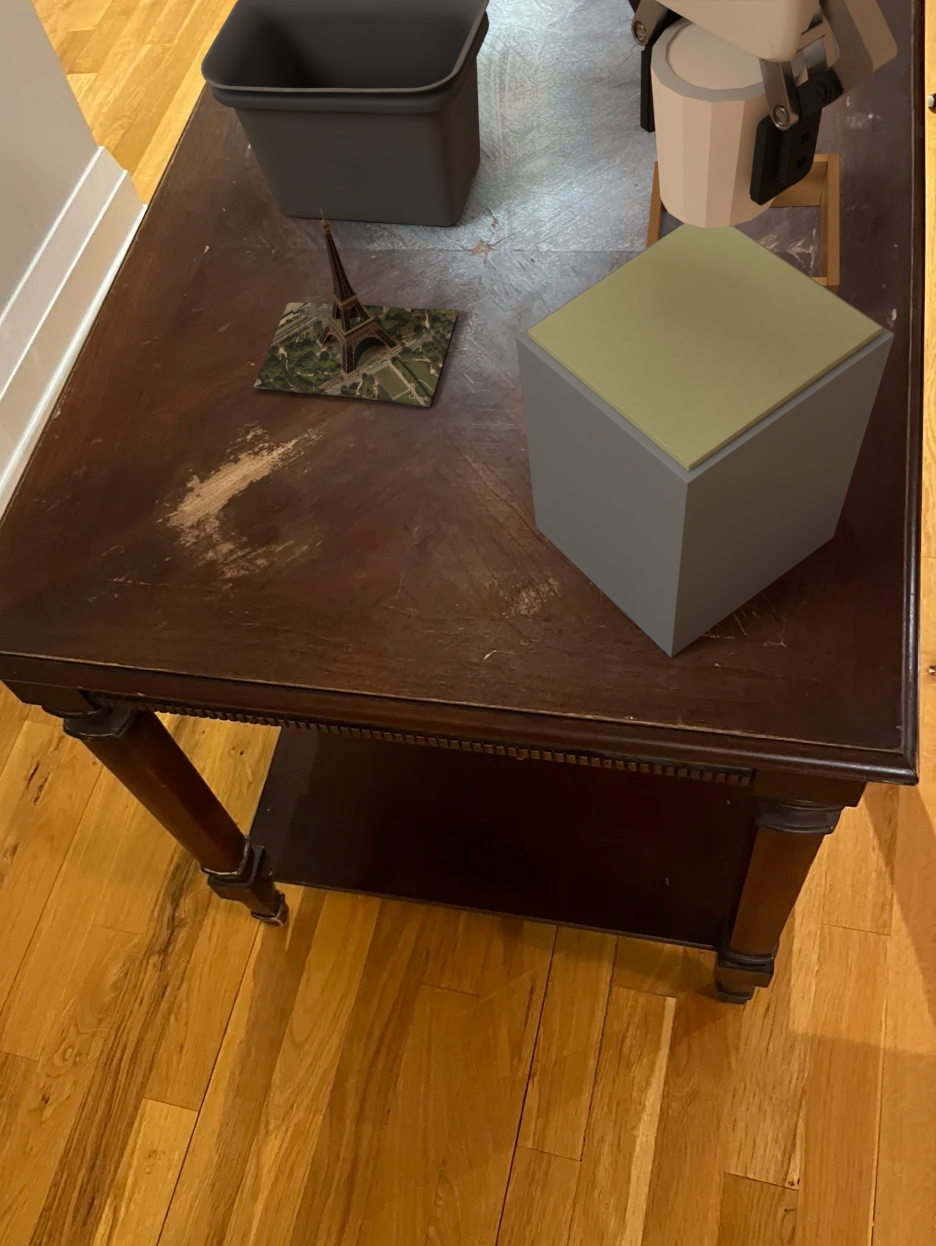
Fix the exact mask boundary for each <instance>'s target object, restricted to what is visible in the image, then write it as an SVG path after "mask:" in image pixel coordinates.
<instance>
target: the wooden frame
mask: <svg viewBox="0 0 936 1246" xmlns="http://www.w3.org/2000/svg"><path fill="white" fill-rule="evenodd" d="M816 206H817V207H819V210H818V211H819V214H818V215H819V216H818V217H819V218H818V219H819V222H818V223H819V224H818V225H819V226H818V228H819V229H818V233H819V234H818V235H819V236H818V276H813V277H812V276H809V277H810V278H812V279H813V280H815V281H816V282H818V283H819V284H821V285H822V286H824V287H825V288H827V289H828V290H830V291H831V292H833V293H834V294H836V295H837V296H838V294H839V289H840V283H841V282H840V281H841V280H840V279H841V278H840V275H841V274H840V273H841V272H840V271H841V269H840V267H841V266H840V265H841V264H840V261H841V257H840V254H841V253H840V252H841V251H840V250H841V249H840V247H841V246H840V243H841V241H840V239H841V237H840V223H841V222H840V220H841V219H840V218H841V217H840V216H841V215H840V211H841V210H840V153H839V152H838V153H837V152H836V153H835V152H834V153H815V155H814V161H813V165H812V168H811V170H810V172H809V173H808V174H807V175H806V176H805V177H804V178H803V179H802V180H801V181H799V182H798V183H796V184H795V185H793V186H791V187H789V188H788V189H786V190H785V191H783V192H782V193H780V194H779V195H777V196H776V197H775V199H774V200H773V202H772V203H771V205H770V207H769V208H787V207H816ZM664 211H665V212H666V211H667V209H666V207H665V206H664V204H663V202H662V200H661V197H660V184H659V170H658V160H656V161H654V166H653V176H652V185H651V196H650V207H649V217H648V225H647V226H648V227H647V236H646V246H645V249H647V248H648V247H649V246H651V245H652V244H654V243H655V242H657V241H658V240H660V239H661V233H662V223H663V222H662V221H663V212H664ZM667 212H668V211H667Z"/></svg>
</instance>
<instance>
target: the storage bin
mask: <svg viewBox="0 0 936 1246" xmlns="http://www.w3.org/2000/svg"><path fill="white" fill-rule="evenodd" d="M489 3H490V0H237V1H236V2H235V3H234V5H233V7H232V8H231V10H230V12H229V14H228V16H227V18H226V19H225V20H224V22H223V25H221V28H220V29H219V31H218V33H217V34H216V36H215V37H214V40H213V41H212V43H211V44H210V47H209V48H208V50H207V52H206V54H205V55H204V57H203V59H202V60H201V61H202V62H201V64H200V72H201V75H202V78H203V79H204V80H205V82H206V83H207V84H209V85H210V86H211V92H212V95H213V97H214V99H215V100H216V101H217V103H219V104H220V105H223V106H225V107H227V108H233V110H234V112H235V114H236V116H237V118H238V121H239V123H240V125H241V127H242V130H243V133H244V134H245V137H246V139H247V141H248V143H249V145H250V148H251V150H252V153H253V155H254V157H255V159H256V161H257V164H258V166H259V168H260V171H261V173H262V175H263V177H264V180H265V182H266V185H267V187H268V189H269V191H270V194H271V196H272V198H273V201H274V203H275V206H276V207H277V210H278V212H279V213H280V214H281V215H282V216H285V217H289V218H301V219H302V218H304V219H319V220H320V219H321V220H322V219H323V217H324V219H326V220H338V221H354V222H355V221H356V222H371V223H383V224H384V223H385V224H387V223H388V224H402V225H403V224H405V225H421V226H434V227H435V226H436V227H449V226H452V225H454V224H455V223H456V222H457V221H458V219H459V218H460V215H461V212H462V210H463V208H464V204H465V202H466V200H467V197H468V195H469V192H470V189H471V188H472V184H473V182H474V179H475V177H476V175H477V172H478V170H479V168H480V163H481V158H482V157H481V156H482V155H481V136H480V135H481V133H480V111H479V110H480V109H479V108H480V107H479V81H478V80H479V79H478V56H479V53H480V51H481V48H482V46H483V44H484V42H485V39H486V37H487V34H488V33H489V29H490V19H489V15H488V12H487V8H488V6H489ZM320 208H321V210H322V214H323V217H322V214H321V210H320Z"/></svg>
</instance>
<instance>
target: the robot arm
mask: <svg viewBox="0 0 936 1246" xmlns="http://www.w3.org/2000/svg"><path fill="white" fill-rule="evenodd" d="M627 1H628V3H629V5H630V8H631V9H632V12H633V14H634V15H633V18H632V21H631V23H630V24H631V25H630V30H631V35H632V37H633V40H634V41H635V43H637V45H639V46H640V47H644V49H643V50H641V51H640V94H639V95H640V96H639V97H640V99H639V100H640V101H639V102H640V105H639V126H640V128H641V129H642V130H643V131H646V132H647V133H649V134H651V133H656V130H655V117H654V103H653V90H652V77H651V58H652V49H653V46H654V44H655V43H656V42H657V40H658V39H659V37H660V36H661V35H662V33H663V32H664V31H665V29H666V28H667V27H669V26H670V25H672V24H673V23H675V22H676V21H678V20H679V19H681V18H683V17H685V18H686V19H688V20H690V21H692V22H693V23H695V24H697V25H699V26H700V27H702V28H704V29H706V30H707V31H709V32H711V33H713V34H715V35H716V36H718V37H720V38H722V39H723V40H725V41H727V42H729V43H731V44H733V45H735V46H736V47H738V48H740V49H742V50H744V51H746V52H748V53H750V54H752V55H754V56H757V57H758V59H759V64H760V69H761V73H762V78H763V83H764V88H765V93H766V98H767V102H768V107H769V112H770V114H769V115H768V116H766V117H765V118H763V119H762V120H761V121H760V122H759V124H758V126H757V131H756V140H755V148H754V157H753V166H752V174H751V183H750V192H749V194H750V199H751V200H752V201H754V202H755V203H757V204H758V205H760V206H762V205H764V204H765V203H767V202H768V201H770V200H771V199H773V198H774V197H776V196H777V195H779V194H780V193H782V192H783V191H785V190H786V189H788V188H789V187H791V186H793V185H795V184H796V183H798V182H799V181H801V180H802V179H803V178H804V177H805V176H806V175H807V174H808V173H809V172H810V170H811V168H812V165H813V161H814V155H815V154H816V149H817V143H818V138H819V131H820V126H821V119H822V113H823V109H824V108H826V107H828V106H829V105H831V104H833V103H834V102H836V101H837V100H839V99H840V98H841V97H844V96H845V95H846V94H847V93H849V92H851V91H852V90H854V89H855V88H857V87H858V86H860V85H861V84H862V83H864V82H865V81H866V80H868V79H870V78H871V77H872V76H874V75H875V74H877V73H878V72H880V71H881V70H883V69H885V67H887V66H889V65H890V64H891V63H893V62H894V61H895V60H896V58H897V55H898V46H897V42H896V40H895V38H894V36H893V34H892V32H891V29H890V28H889V25H888V22H887V20H886V18H885V16H884V14H883V11H882V10H881V7H880V5H879V2H878V1H877V0H627ZM833 36H834V37H833ZM834 38H835V40H836V42H837V45H838V48H839V54H838V58H837V54H836V48H835V42H834ZM801 50H803V53H804V59H805V64H806V70H807V75H808V76H807V80H806V81H805V82H804V83H802V84H801V85H799V86H798V87H795V81H794V76H793V71H792V66H791V60H792V59H793V58H794V57H795V55H796V53H798V52H800V51H801Z"/></svg>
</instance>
